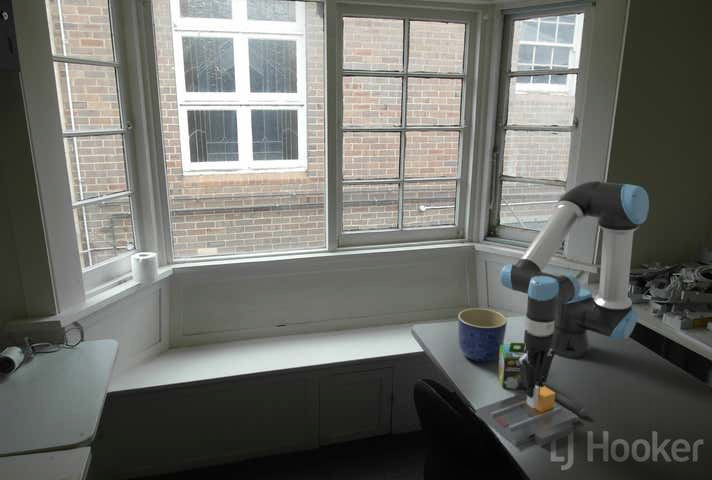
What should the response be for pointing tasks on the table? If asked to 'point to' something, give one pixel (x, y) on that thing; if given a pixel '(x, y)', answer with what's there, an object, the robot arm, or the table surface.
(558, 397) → the dark grey rod
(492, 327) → the planter
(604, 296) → the robot arm
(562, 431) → the grey bar
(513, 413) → the breaker panel
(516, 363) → the chalk box
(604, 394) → the table surface
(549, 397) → the block
